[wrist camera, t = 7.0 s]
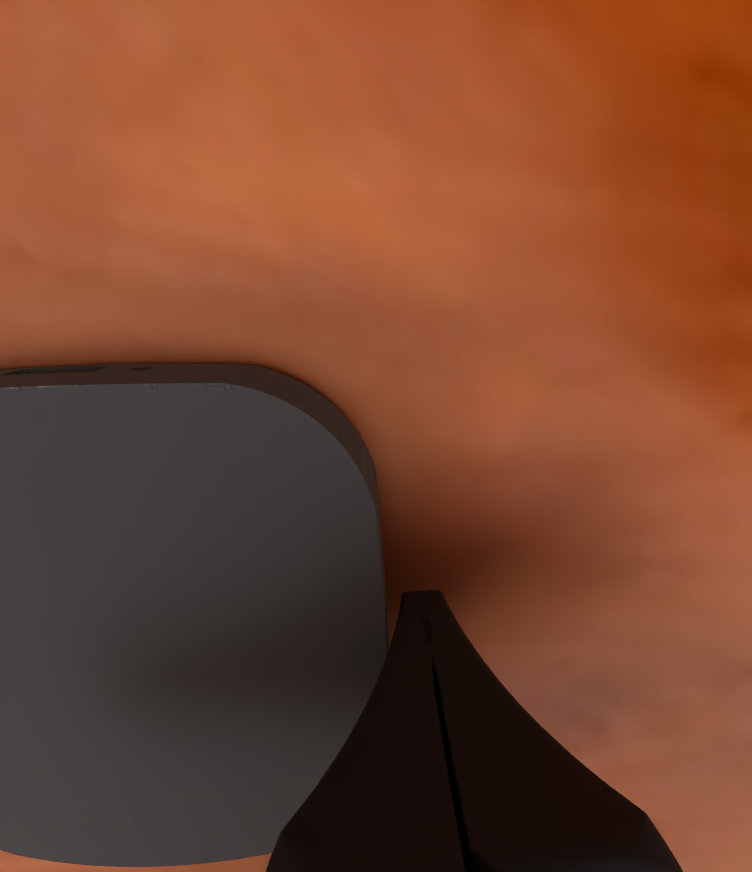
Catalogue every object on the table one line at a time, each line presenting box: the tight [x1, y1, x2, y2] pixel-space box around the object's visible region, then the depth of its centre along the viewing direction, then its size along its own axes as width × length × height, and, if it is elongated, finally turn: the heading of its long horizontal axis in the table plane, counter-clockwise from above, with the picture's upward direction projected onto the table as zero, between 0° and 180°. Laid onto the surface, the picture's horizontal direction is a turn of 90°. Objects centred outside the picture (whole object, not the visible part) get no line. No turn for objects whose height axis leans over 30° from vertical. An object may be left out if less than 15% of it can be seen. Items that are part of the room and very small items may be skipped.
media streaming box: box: [0, 363, 388, 867], centre depth 12 cm, size 15×15×3 cm
